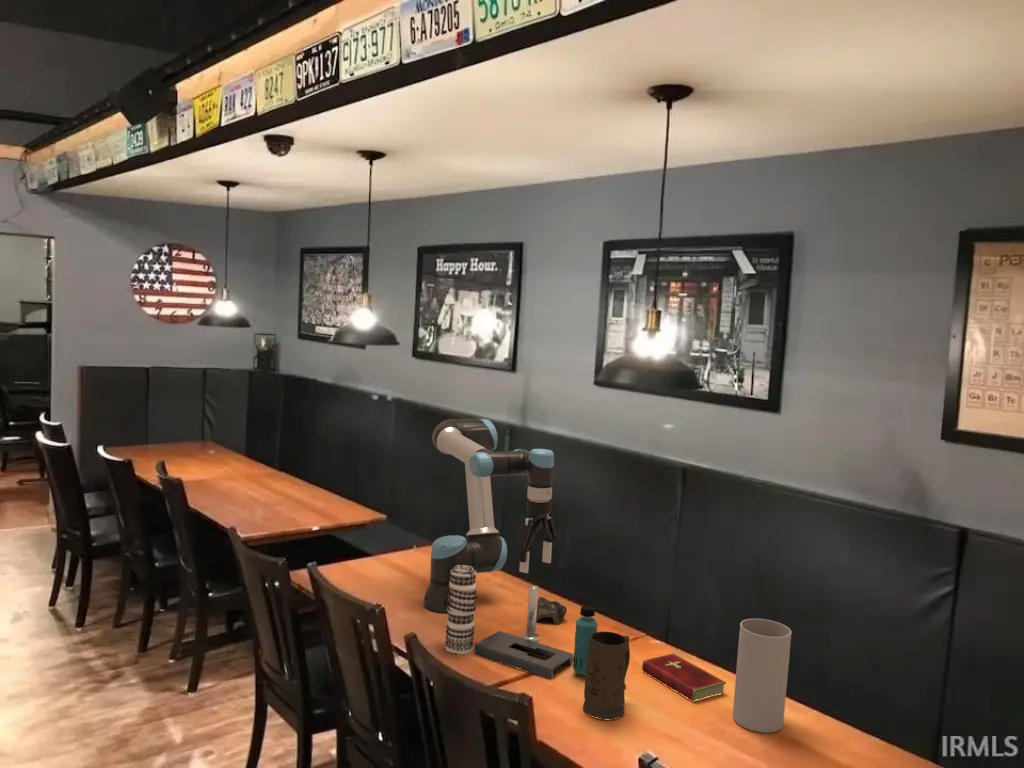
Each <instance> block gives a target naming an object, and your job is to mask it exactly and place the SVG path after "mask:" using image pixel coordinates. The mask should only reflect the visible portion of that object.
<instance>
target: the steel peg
mask: <svg viewBox="0 0 1024 768" xmlns="http://www.w3.org/2000/svg"><path fill="white" fill-rule="evenodd" d="M528 588H529V589H528V605H527V620H526V622H527V623H526V632H525V633H523V634H522V637H521V638H524V639H527V640H530V641H534V642H537V643H539V641H540V635H539V634H537V631H536V630H537V621H536V618H537V602H538V598H539V586H538V585H536V584H535V585H534V584H531V585H529V587H528Z"/></svg>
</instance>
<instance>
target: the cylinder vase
mask: <svg viewBox="0 0 1024 768" xmlns="http://www.w3.org/2000/svg"><path fill="white" fill-rule="evenodd" d="M738 634H739V637H738V649H737V659H736V670H735V671H736V672H735V681H734V682H735V683H734V684H735V685H734V695H733V707H732V718H733V720H734V721H735V722H736V723H737V724H738V725H739V726H741V727H742V728H744V729H746V728H747V730H749V731H753V732H755V731H757V732H756V733H761V732H762V734H763V733H764V734H771V733H776V732H778V731H780V730H782V728H783V727H784V721H785V708H786V698H787V687H788V677H789V675H788V674H789V665H790V655H791V653H790V651H791V643H792V630H791V629H790V628H789V627H788V626H786V624H783V623H780V622H779V621H778V622H777V621H774V620H771V619H765V618H747V619H743V620H742V621H741V622H740V624H739V633H738Z"/></svg>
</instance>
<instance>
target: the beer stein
mask: <svg viewBox="0 0 1024 768" xmlns="http://www.w3.org/2000/svg"><path fill="white" fill-rule="evenodd" d="M630 657H631V651H630V636H629V635H622V634H619V633H616V632H612V631H597V632H595V633H593V634H591V636H590V640H589V651H588V659H587V664H586V675H584V676H585V678H584V692H583V694H584V697H583V698H584V701H583V705H582V710H583V709H584V710H583V712H584V711H585V712H586V713H587V714H589V715H591V716H594V717H598V718H601V719H615V718H618V717H621V716H622V717H623V716H624V715H625V713H624V712H626V711H625V702H626V700H625V695H626V694H625V690H626V689H627V685H626V683H625V681H626V675H627V672H628V669H629V665H630V659H631V658H630ZM585 712H584V713H585ZM586 713H585V714H586ZM587 714H586V715H587ZM623 714H624V715H623ZM589 715H588V716H589ZM622 717H621V718H622Z"/></svg>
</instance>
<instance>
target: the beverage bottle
mask: <svg viewBox="0 0 1024 768" xmlns="http://www.w3.org/2000/svg"><path fill="white" fill-rule="evenodd" d="M580 607H581V608H580V612H579V614H580V616H581V617H579V618H577V620H576V621H575V633H574V648H573V649H574V650H573V651H574V652H573V664H572V669H573V672H575V673H576V674H578V675H583V676H586V664H587V659H588V651H589V640H590V636H591V634H593V633H595V632H598V626H599V622H598V621H597V620H596V619H595V618H594V617H595V615H596V614H595V613H596V612H595V609H596V608H595V607H594V606H593V605H587V604H586V605H582V606H580Z"/></svg>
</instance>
